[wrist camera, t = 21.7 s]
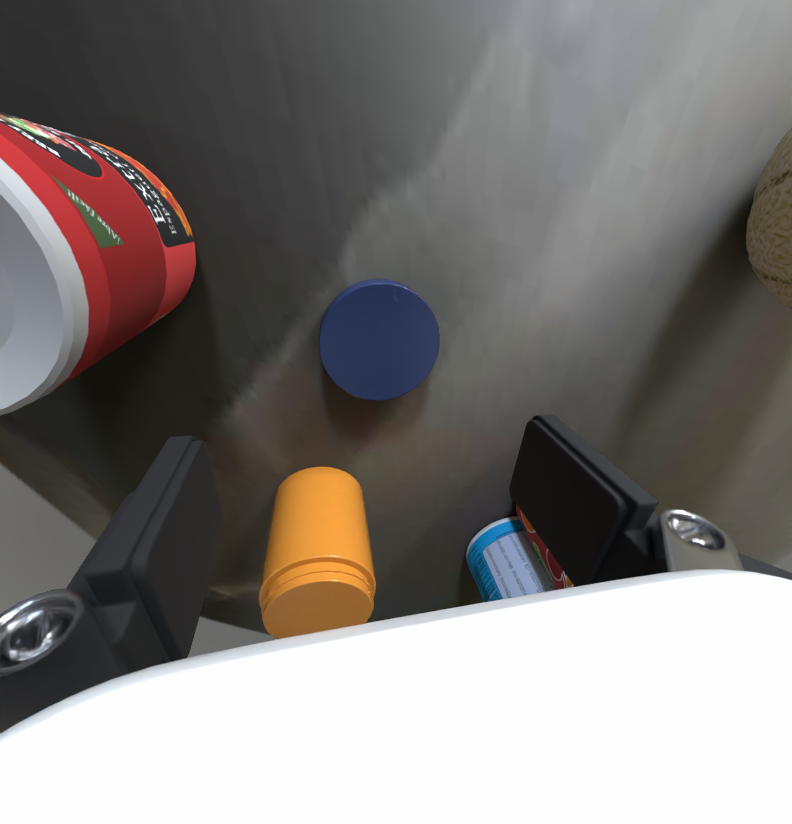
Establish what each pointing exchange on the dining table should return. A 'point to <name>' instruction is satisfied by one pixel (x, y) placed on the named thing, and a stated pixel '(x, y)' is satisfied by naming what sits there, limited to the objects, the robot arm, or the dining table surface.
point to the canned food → (79, 256)
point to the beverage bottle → (506, 562)
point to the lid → (378, 339)
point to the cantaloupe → (773, 224)
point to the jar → (317, 556)
